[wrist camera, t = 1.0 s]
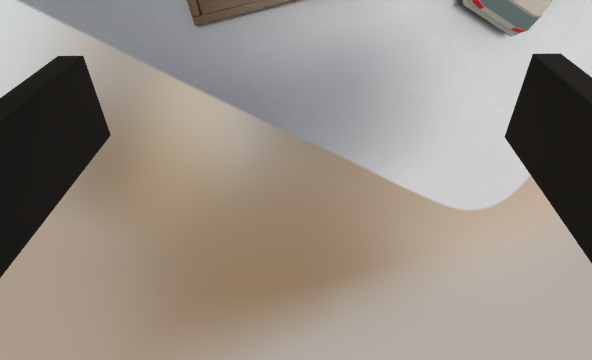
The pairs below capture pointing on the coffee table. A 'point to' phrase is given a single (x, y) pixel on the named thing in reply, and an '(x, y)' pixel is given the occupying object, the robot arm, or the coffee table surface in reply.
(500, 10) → the toy car
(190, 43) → the coffee table surface
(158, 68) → the coffee table surface
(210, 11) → the tray
